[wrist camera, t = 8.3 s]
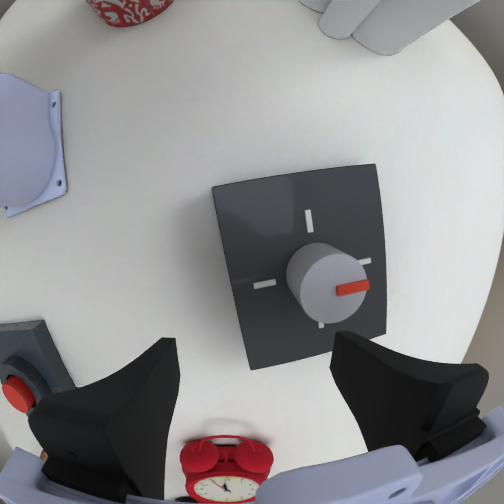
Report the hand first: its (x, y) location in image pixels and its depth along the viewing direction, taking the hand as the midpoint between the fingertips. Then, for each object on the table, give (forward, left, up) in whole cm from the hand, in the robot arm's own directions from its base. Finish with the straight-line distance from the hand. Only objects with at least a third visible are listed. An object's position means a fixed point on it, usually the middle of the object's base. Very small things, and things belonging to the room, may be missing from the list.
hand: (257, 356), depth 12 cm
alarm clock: (+21, -6, -10) cm, 24 cm away
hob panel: (-1, +5, -9) cm, 11 cm away
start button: (+6, -24, -6) cm, 26 cm away
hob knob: (-1, +5, -6) cm, 8 cm away
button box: (+6, -24, -9) cm, 27 cm away
